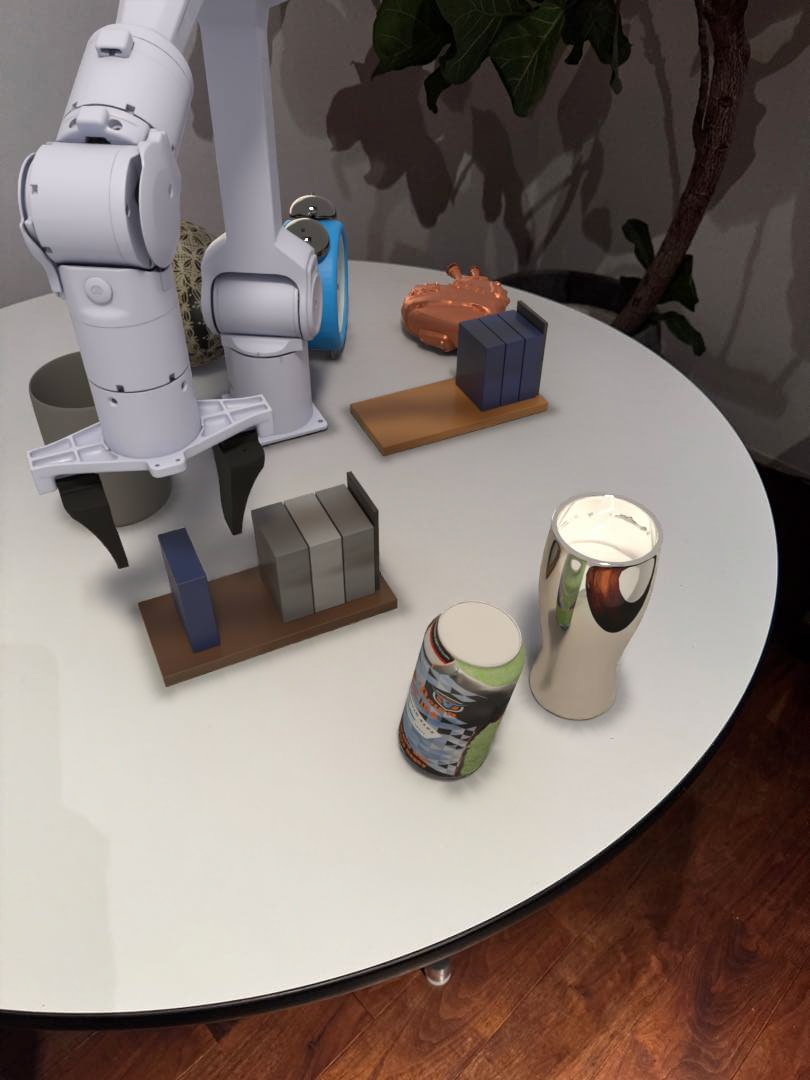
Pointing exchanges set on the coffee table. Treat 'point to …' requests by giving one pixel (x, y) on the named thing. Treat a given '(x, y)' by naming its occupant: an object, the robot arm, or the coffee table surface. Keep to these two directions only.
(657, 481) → the coffee table surface
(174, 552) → the navy book
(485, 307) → the heart
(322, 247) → the alarm clock
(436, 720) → the beverage can
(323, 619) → the walnut book board
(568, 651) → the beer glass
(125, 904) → the coffee table surface
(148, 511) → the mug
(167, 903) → the coffee table surface
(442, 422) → the oak book board
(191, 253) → the decorative egg
